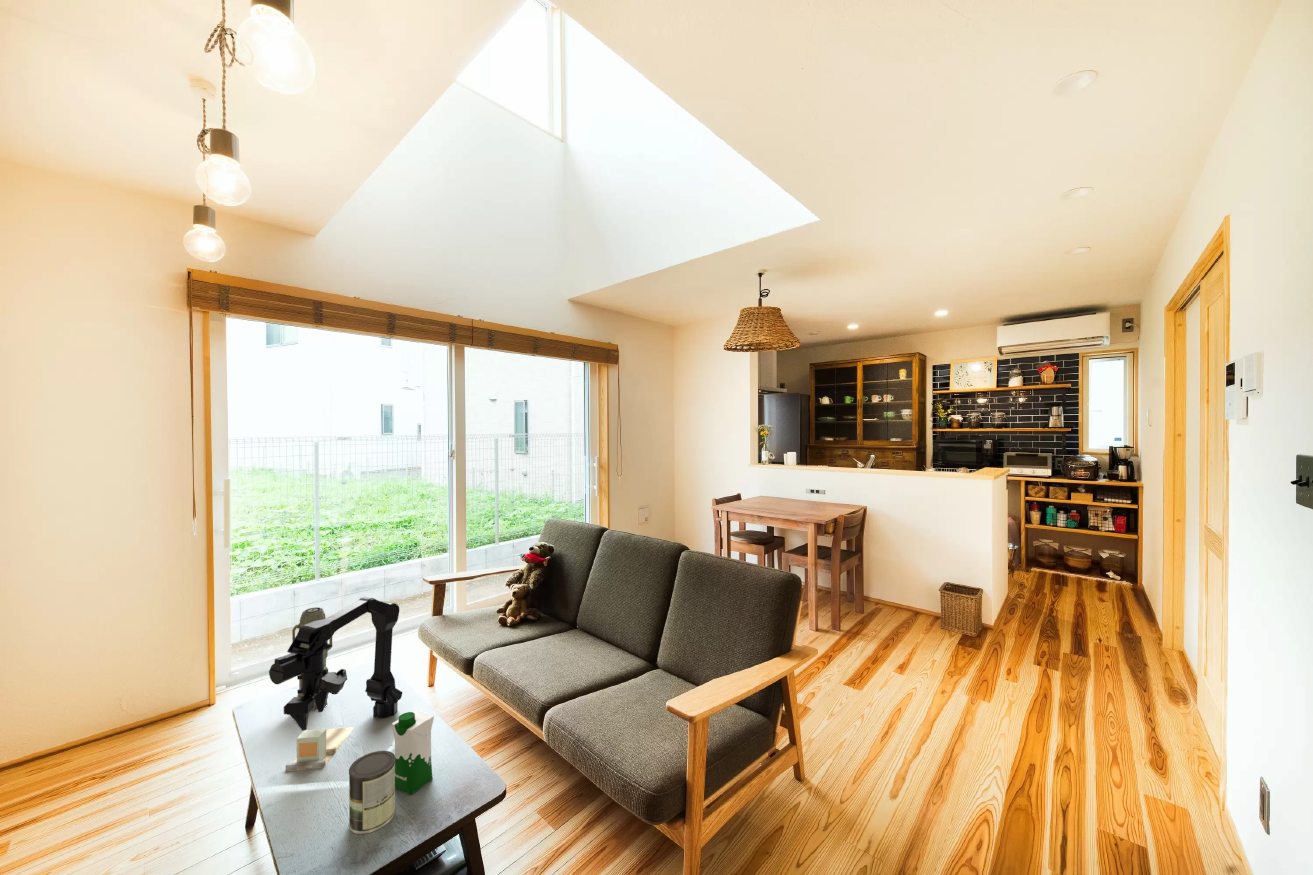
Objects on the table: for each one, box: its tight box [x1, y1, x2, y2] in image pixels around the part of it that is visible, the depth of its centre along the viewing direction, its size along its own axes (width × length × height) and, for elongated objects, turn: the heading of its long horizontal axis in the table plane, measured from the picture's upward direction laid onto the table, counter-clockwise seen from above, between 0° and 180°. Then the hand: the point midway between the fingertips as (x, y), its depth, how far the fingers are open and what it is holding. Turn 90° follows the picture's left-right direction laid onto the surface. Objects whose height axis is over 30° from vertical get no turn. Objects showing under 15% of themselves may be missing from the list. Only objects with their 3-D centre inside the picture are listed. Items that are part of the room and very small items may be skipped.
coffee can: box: [348, 750, 396, 835], centre depth 127 cm, size 10×10×14 cm
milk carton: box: [391, 709, 435, 796], centre depth 139 cm, size 9×9×20 cm
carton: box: [296, 728, 327, 762], centre depth 146 cm, size 4×6×8 cm, turn 98°
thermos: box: [291, 607, 333, 711], centre depth 177 cm, size 9×12×35 cm
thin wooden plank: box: [285, 726, 356, 772], centre depth 153 cm, size 10×20×3 cm, turn 8°
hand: (312, 720), depth 147 cm, fingers open, 9 cm apart
